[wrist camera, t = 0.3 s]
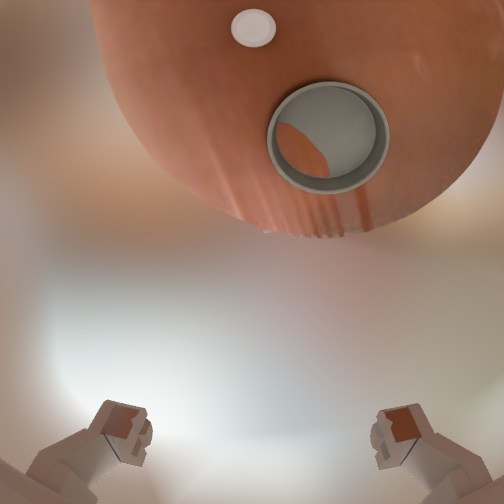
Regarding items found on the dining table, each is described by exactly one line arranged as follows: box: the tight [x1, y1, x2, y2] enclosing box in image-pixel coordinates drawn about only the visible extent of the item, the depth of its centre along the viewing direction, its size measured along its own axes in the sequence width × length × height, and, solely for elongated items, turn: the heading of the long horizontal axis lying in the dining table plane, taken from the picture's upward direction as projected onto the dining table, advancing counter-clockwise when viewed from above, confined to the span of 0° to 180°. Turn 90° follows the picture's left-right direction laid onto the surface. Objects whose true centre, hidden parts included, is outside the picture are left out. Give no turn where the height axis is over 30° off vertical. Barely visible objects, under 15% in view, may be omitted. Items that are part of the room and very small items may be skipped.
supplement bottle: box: [231, 9, 276, 47], centre depth 35 cm, size 7×7×13 cm
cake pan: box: [267, 82, 389, 194], centre depth 53 cm, size 25×25×4 cm
